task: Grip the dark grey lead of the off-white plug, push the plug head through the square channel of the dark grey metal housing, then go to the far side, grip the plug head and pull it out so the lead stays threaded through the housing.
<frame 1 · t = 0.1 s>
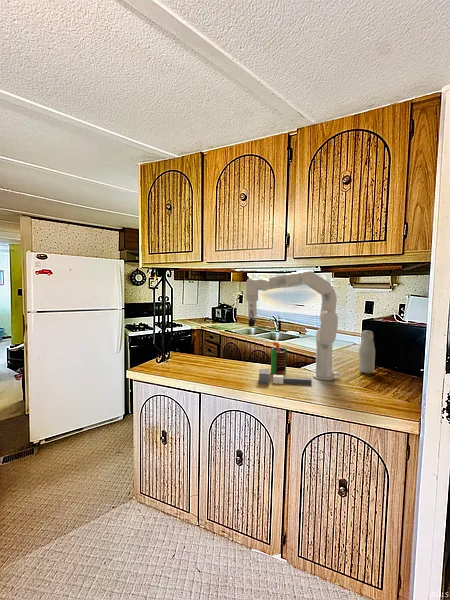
hand: (251, 325, 211), 31 cm above the counter, tool pointing down, fingers open, 9 cm apart
plug: (291, 383, 194), on the counter
housing: (264, 381, 197), on the counter
motor: (277, 373, 215), on the counter
light grey bottle: (366, 373, 217), on the counter
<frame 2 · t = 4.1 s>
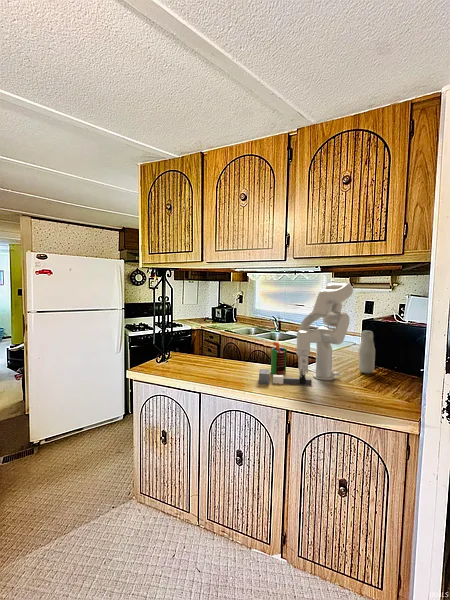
hand: (302, 383, 193), 0 cm above the counter, tool pointing down, fingers closed on plug, 3 cm apart
plug: (291, 383, 194), on the counter, touching gripper
everything else where it was.
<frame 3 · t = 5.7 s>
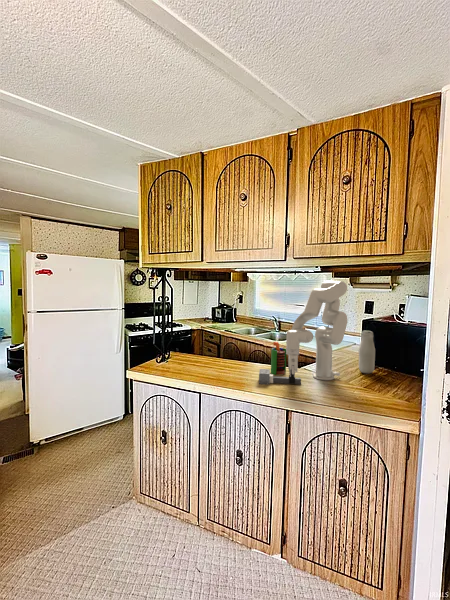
hand: (291, 382, 194), 1 cm above the counter, tool pointing down, fingers closed on plug, 3 cm apart
plug: (281, 382, 195), on the counter, touching gripper
everything else where it was.
when the fingers open (0 cm above the counter, at t = 7.3 s): plug stays where it is, on the counter.
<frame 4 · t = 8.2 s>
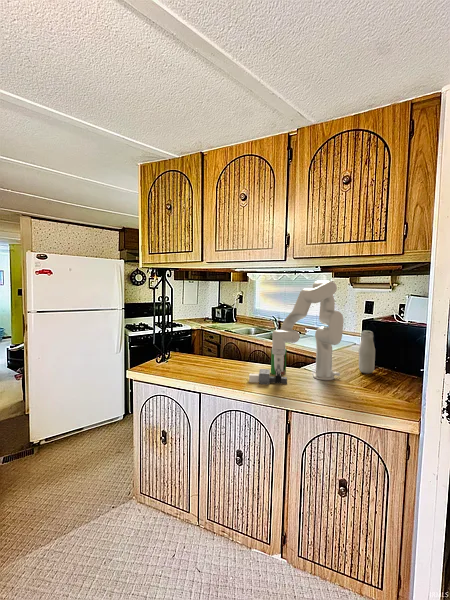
hand: (278, 379, 195), 2 cm above the counter, tool pointing down, fingers open, 9 cm apart
plug: (267, 382, 196), on the counter
everything else where it was.
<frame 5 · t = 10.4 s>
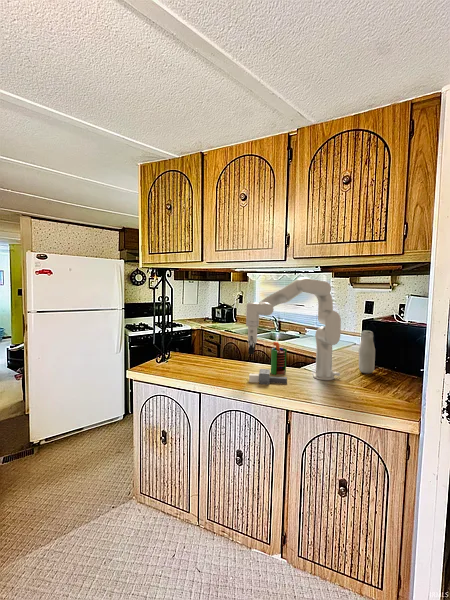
hand: (251, 352, 197), 17 cm above the counter, tool pointing down, fingers open, 9 cm apart
nothing on the counter moved.
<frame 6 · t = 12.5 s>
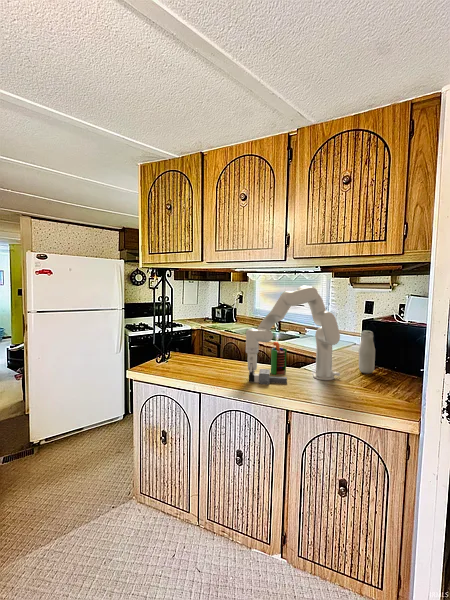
hand: (251, 380, 198), 1 cm above the counter, tool pointing down, fingers closed on plug, 4 cm apart
plug: (267, 381, 196), on the counter, touching gripper
everything else where it was.
when the fingers open (1 cm above the counter, at t = 14.7 s): plug stays where it is, on the counter.
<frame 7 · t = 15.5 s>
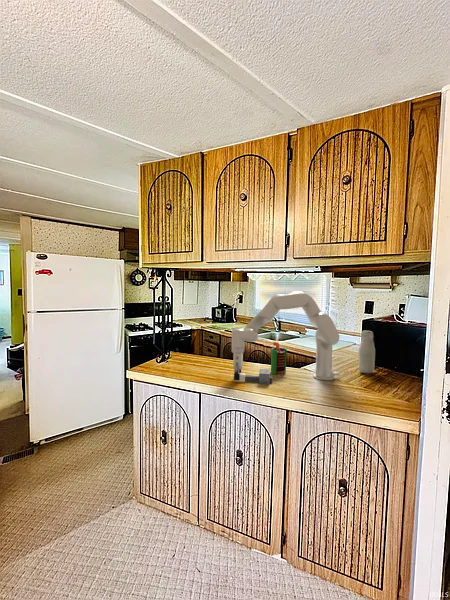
hand: (237, 377, 199), 2 cm above the counter, tool pointing down, fingers open, 9 cm apart
plug: (253, 381, 198), on the counter
everything else where it was.
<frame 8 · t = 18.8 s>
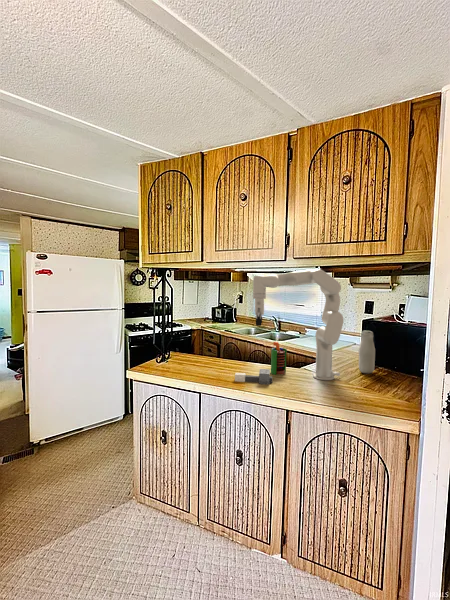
hand: (258, 324, 200), 33 cm above the counter, tool pointing down, fingers open, 9 cm apart
nothing on the counter moved.
at the end: plug 1.2 cm from the target spot on the counter beside the housing, on the counter; plug tilted 0°; the gripper is holding nothing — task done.
